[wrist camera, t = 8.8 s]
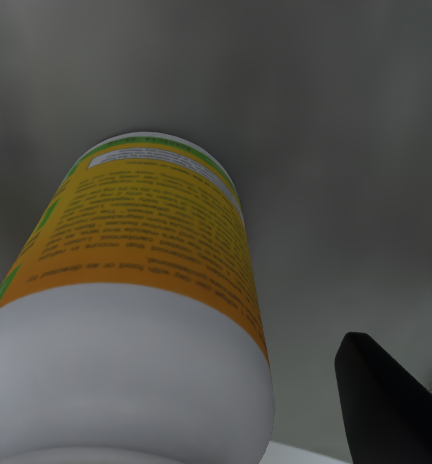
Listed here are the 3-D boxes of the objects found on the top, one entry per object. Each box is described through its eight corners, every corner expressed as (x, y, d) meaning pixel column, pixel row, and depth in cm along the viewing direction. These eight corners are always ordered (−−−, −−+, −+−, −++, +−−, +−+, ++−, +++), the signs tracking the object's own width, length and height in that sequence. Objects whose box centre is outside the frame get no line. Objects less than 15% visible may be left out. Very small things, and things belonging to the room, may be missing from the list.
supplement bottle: (54, 116, 11) (-372, 581, 3) (253, 136, 11) (396, 576, 3) (70, 273, 14) (-111, 721, 6) (228, 283, 14) (269, 706, 6)
